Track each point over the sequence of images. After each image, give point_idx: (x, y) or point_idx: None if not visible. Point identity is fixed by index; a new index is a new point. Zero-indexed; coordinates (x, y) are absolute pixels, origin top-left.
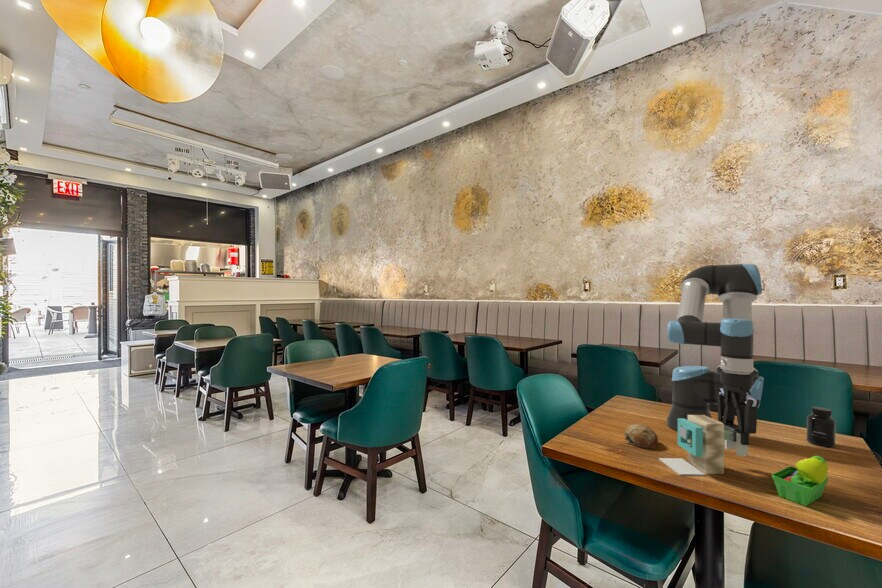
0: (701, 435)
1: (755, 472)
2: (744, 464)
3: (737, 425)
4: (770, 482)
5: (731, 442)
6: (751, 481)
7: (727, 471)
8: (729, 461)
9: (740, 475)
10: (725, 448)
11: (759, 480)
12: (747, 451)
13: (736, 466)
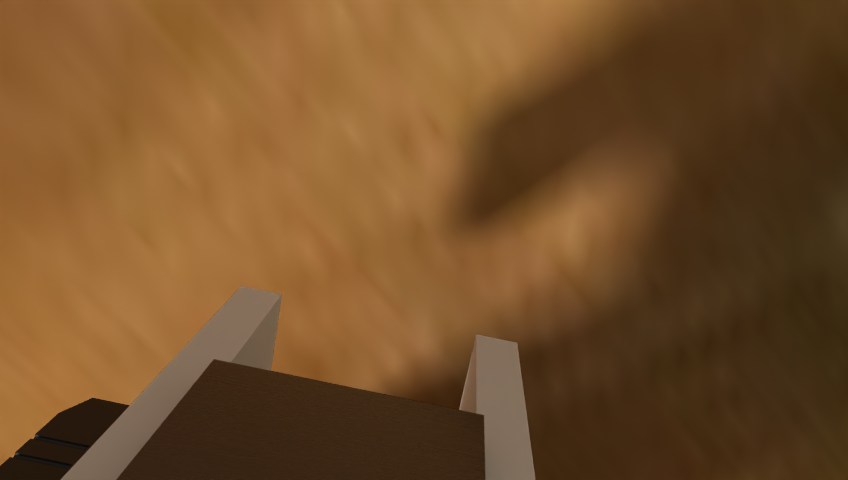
0: None
1: (537, 189)
2: (335, 108)
3: None
4: (764, 265)
5: None
6: (687, 434)
7: None
8: (239, 213)
9: (555, 418)
10: None
11: (695, 335)
12: (520, 379)
13: (367, 258)
